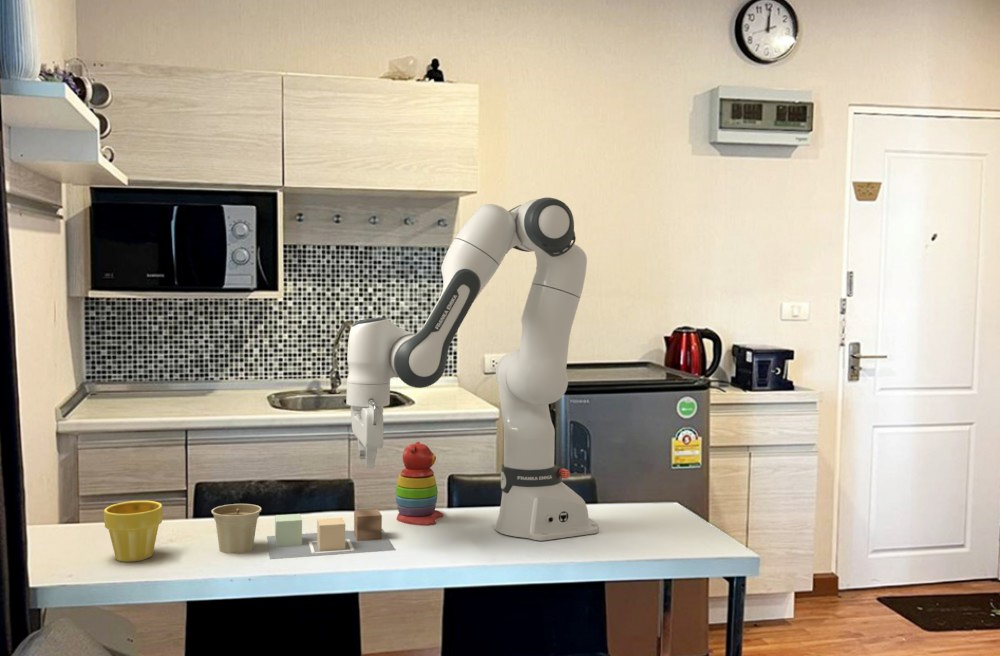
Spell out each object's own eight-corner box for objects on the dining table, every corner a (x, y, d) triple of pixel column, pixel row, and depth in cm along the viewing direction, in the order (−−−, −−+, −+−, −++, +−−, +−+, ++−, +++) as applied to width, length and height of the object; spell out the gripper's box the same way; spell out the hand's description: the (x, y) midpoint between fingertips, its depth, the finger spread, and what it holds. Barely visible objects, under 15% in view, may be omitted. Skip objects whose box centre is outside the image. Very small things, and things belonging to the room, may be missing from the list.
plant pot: (103, 567, 164) (103, 515, 163) (105, 552, 173) (104, 502, 173) (163, 561, 168) (163, 510, 167) (161, 547, 177) (161, 498, 177)
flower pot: (269, 547, 178) (269, 505, 177) (248, 561, 169) (248, 516, 168) (226, 544, 180) (226, 502, 179) (202, 558, 170) (202, 513, 170)
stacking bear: (433, 530, 192) (433, 448, 192) (388, 527, 194) (389, 446, 194) (446, 517, 203) (446, 440, 202) (403, 514, 205) (404, 438, 204)
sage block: (300, 538, 182) (300, 514, 182) (301, 544, 177) (302, 520, 177) (275, 539, 180) (275, 515, 180) (276, 546, 176) (276, 521, 175)
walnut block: (377, 532, 187) (378, 509, 186) (381, 539, 182) (381, 515, 182) (354, 534, 185) (354, 510, 185) (357, 541, 180) (357, 516, 180)
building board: (382, 532, 190) (382, 505, 190) (395, 553, 175) (395, 524, 174) (267, 540, 183) (267, 512, 183) (269, 563, 168) (270, 532, 167)
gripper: (392, 402, 173) (390, 472, 174) (376, 390, 193) (374, 453, 193) (359, 402, 171) (357, 473, 172) (346, 390, 191) (345, 454, 191)
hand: (366, 463), depth 183 cm, fingers open, 8 cm apart
